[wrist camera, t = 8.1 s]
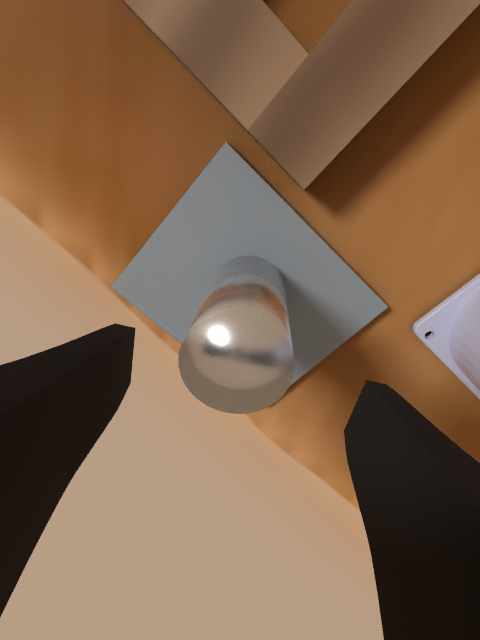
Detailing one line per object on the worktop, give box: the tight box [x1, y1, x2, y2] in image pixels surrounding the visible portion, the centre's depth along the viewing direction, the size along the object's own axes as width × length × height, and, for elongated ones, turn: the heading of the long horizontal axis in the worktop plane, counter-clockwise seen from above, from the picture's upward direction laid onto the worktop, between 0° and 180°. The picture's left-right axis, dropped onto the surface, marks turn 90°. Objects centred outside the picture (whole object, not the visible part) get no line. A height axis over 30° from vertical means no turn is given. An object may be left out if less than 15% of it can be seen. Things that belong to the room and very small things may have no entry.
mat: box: [112, 142, 388, 386], centre depth 20 cm, size 12×10×1 cm
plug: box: [178, 256, 294, 414], centre depth 15 cm, size 4×4×8 cm
